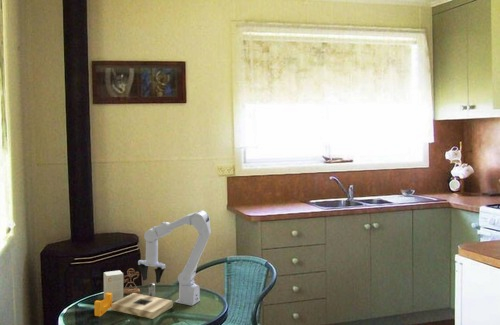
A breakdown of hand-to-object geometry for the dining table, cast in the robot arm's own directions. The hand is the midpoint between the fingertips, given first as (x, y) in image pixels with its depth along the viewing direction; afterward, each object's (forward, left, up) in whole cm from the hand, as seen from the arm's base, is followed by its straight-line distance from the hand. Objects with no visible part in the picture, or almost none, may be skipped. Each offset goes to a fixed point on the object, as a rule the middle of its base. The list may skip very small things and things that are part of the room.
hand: (151, 281), depth 246 cm
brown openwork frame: (+14, -2, -9) cm, 17 cm away
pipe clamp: (+10, +24, -9) cm, 27 cm away
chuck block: (-4, +13, -8) cm, 16 cm away
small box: (+15, +10, -9) cm, 20 cm away
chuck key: (0, 0, -8) cm, 8 cm away
